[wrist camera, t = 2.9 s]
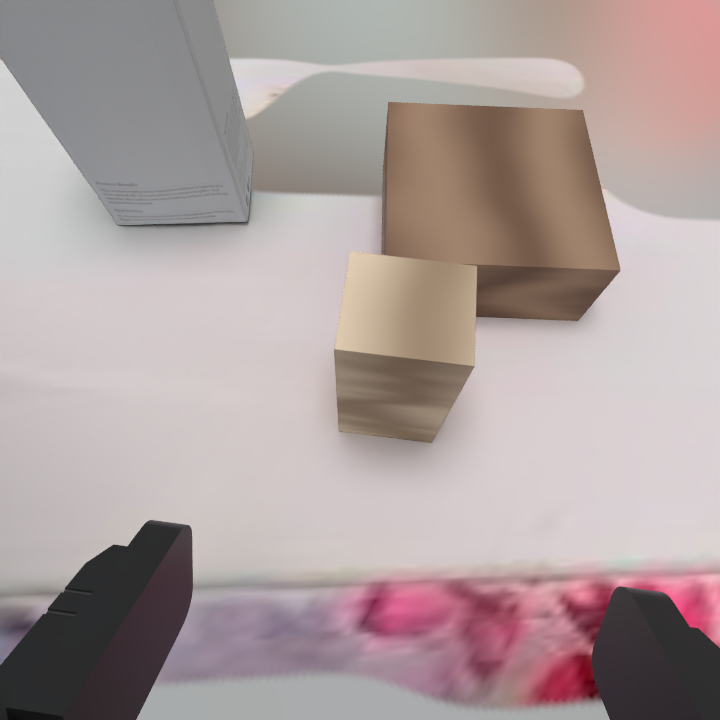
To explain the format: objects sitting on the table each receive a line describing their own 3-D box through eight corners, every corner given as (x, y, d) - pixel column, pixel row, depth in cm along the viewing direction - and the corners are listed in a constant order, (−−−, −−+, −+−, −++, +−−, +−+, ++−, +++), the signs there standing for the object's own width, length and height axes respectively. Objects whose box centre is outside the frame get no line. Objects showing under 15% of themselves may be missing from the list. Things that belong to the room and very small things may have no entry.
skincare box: (255, 157, 32) (188, -159, 18) (249, 230, 29) (166, -75, 16) (125, 158, 32) (-40, -163, 18) (107, 231, 29) (-99, -78, 16)
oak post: (338, 430, 24) (334, 349, 16) (349, 358, 26) (350, 251, 18) (431, 442, 24) (474, 366, 16) (436, 369, 26) (477, 265, 18)
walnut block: (379, 315, 27) (386, 260, 23) (382, 171, 32) (388, 102, 28) (575, 323, 27) (620, 270, 23) (550, 177, 32) (582, 110, 28)
